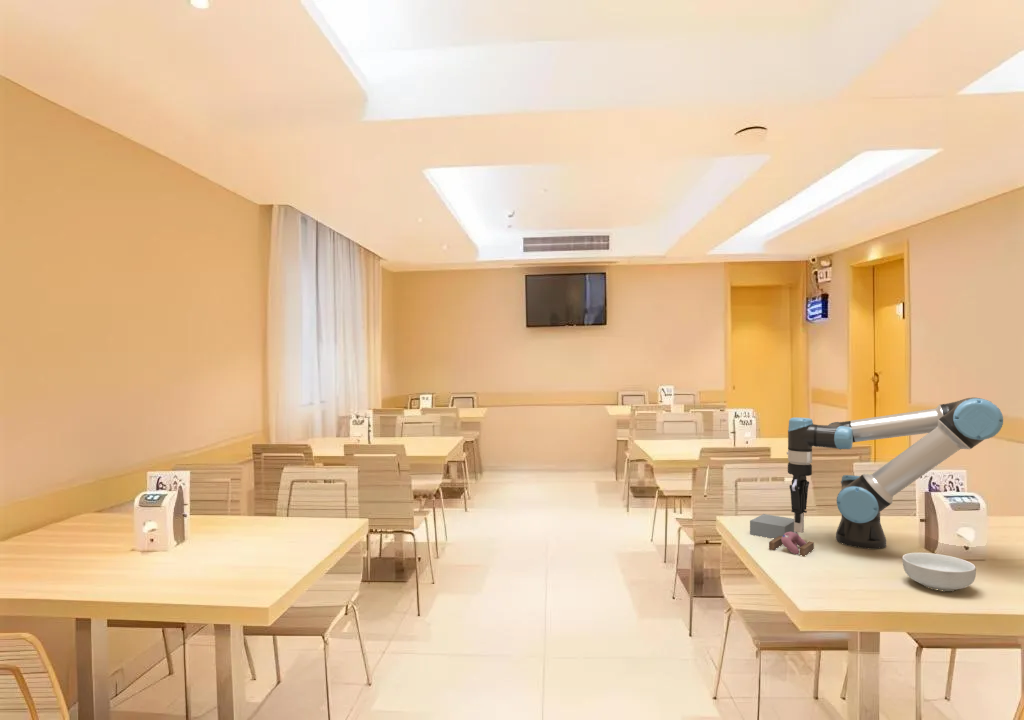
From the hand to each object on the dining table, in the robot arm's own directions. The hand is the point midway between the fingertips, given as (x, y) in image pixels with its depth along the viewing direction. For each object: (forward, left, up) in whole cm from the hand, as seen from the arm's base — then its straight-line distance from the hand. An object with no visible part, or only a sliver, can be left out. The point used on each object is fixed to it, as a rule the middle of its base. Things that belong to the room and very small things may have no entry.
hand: (798, 531), depth 208 cm
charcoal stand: (+11, -7, -4) cm, 13 cm away
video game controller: (-1, +9, -4) cm, 10 cm away
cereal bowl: (-41, +17, -4) cm, 45 cm away
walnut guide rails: (0, +9, -4) cm, 10 cm away
